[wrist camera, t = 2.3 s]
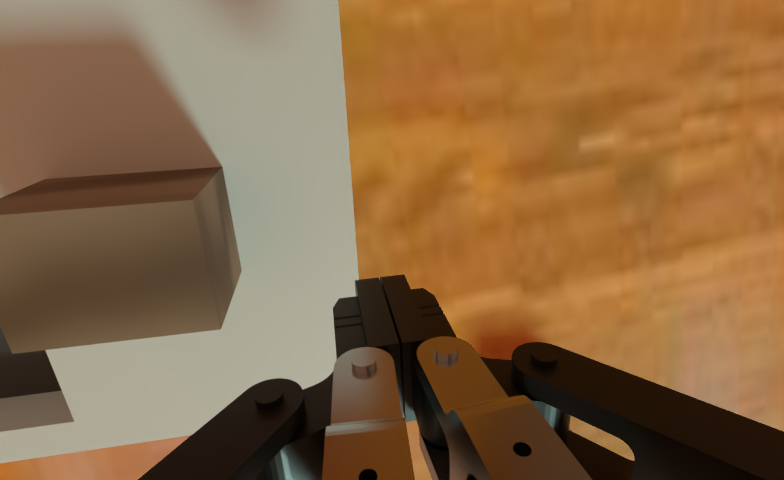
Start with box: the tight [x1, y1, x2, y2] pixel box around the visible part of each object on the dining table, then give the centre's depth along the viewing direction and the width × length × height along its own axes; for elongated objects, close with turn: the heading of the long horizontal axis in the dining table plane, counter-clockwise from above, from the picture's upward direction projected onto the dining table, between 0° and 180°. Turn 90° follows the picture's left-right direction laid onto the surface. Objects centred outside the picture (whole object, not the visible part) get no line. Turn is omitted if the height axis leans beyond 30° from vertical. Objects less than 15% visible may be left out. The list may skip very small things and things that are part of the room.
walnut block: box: [0, 167, 242, 354], centre depth 17 cm, size 5×7×5 cm
